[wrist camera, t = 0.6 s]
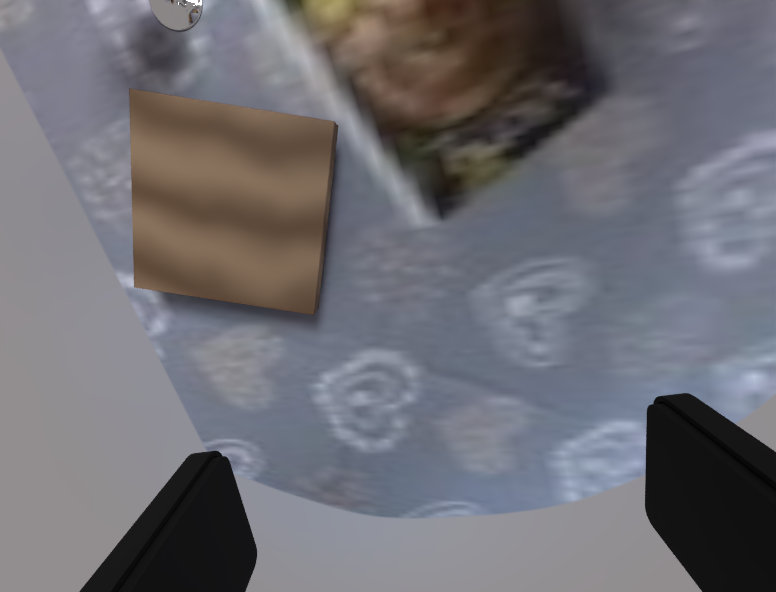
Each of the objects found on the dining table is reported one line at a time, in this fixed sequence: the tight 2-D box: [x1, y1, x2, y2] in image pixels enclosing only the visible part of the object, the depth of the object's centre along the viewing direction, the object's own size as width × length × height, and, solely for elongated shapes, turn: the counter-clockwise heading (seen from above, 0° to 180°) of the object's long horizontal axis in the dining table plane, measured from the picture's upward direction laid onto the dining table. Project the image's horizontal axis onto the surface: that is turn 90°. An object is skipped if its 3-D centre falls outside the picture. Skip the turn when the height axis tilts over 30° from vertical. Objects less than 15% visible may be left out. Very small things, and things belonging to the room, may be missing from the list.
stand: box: [129, 89, 338, 315], centre depth 33 cm, size 16×16×4 cm
